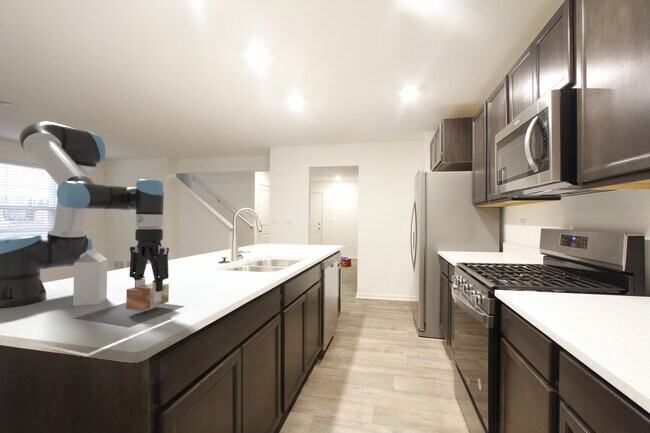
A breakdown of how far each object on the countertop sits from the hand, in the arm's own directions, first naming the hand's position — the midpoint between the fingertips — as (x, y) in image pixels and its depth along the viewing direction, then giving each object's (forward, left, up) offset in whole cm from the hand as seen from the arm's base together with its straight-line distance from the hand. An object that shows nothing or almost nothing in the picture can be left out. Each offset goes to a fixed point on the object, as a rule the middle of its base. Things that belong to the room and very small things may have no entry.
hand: (148, 300), depth 92 cm
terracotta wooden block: (0, 0, -1) cm, 1 cm away
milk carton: (-27, +1, -4) cm, 27 cm away
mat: (-4, -2, -4) cm, 6 cm away
